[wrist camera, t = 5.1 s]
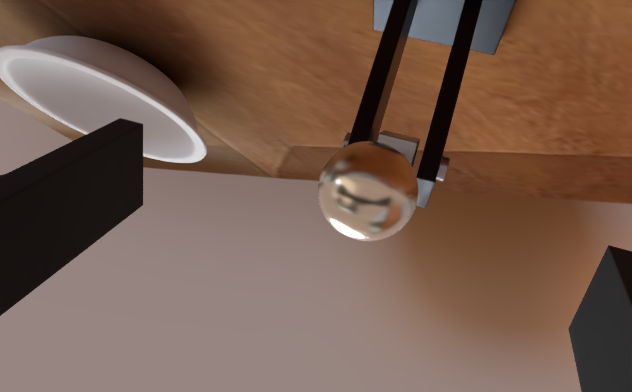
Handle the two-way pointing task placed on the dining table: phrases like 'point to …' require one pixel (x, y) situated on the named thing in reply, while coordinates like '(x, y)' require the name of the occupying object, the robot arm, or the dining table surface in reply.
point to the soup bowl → (104, 92)
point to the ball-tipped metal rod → (370, 187)
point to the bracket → (463, 35)
